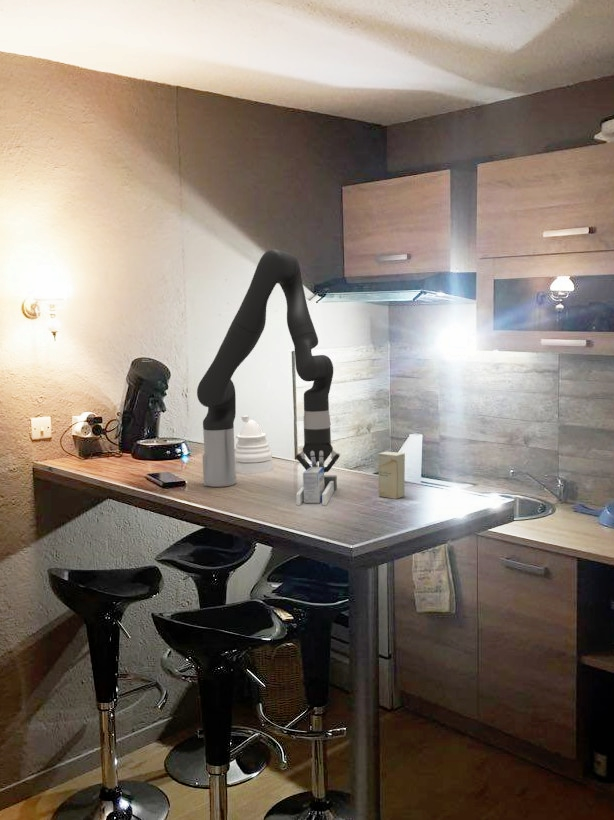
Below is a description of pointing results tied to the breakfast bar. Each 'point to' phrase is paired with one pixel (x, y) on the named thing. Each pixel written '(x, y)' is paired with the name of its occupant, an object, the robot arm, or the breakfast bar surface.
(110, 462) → the breakfast bar surface
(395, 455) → the skincare box
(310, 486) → the medicine box
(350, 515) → the breakfast bar surface
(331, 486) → the channel
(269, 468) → the honey pot
